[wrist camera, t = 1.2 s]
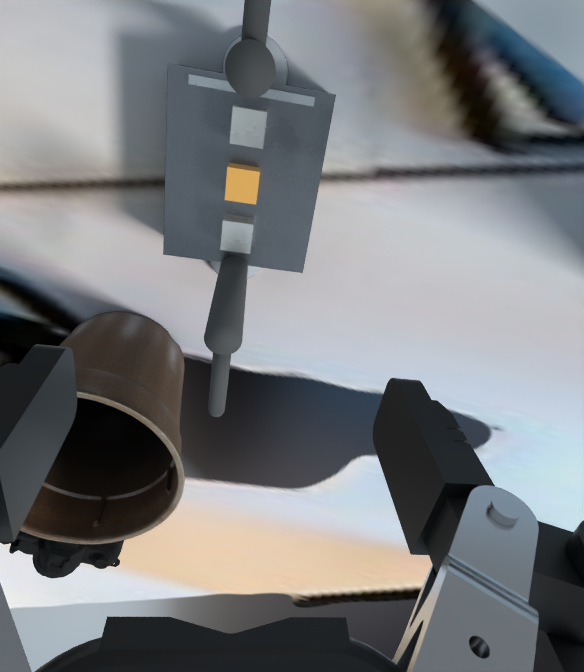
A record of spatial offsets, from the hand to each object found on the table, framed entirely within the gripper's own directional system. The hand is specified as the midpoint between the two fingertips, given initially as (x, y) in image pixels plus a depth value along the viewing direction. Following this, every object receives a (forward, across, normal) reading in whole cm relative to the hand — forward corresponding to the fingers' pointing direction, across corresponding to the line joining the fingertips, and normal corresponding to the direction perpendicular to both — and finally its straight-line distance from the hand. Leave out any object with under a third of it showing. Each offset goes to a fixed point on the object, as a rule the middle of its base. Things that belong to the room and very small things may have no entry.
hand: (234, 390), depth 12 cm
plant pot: (+32, +10, +22) cm, 40 cm away
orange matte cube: (+28, 0, 0) cm, 28 cm away
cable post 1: (+32, 0, -9) cm, 33 cm away
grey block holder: (+32, 0, 0) cm, 32 cm away
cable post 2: (+31, 0, +10) cm, 33 cm away
